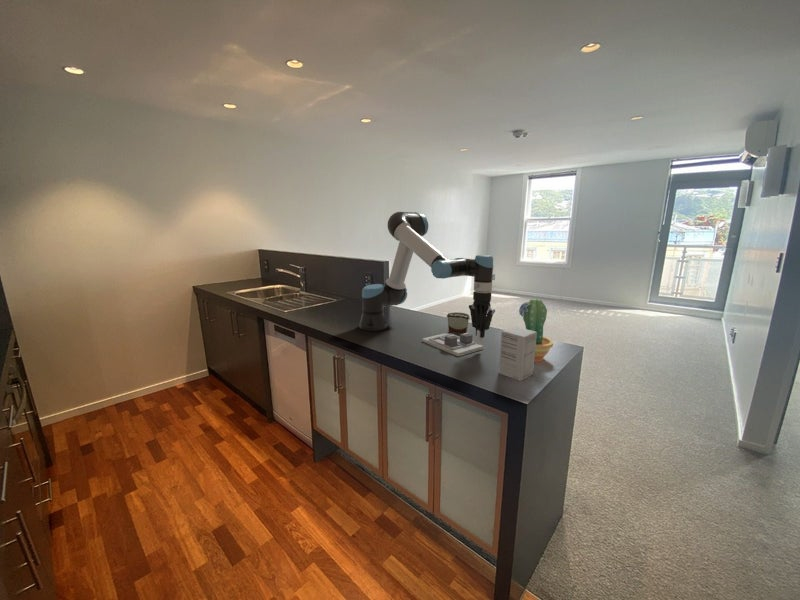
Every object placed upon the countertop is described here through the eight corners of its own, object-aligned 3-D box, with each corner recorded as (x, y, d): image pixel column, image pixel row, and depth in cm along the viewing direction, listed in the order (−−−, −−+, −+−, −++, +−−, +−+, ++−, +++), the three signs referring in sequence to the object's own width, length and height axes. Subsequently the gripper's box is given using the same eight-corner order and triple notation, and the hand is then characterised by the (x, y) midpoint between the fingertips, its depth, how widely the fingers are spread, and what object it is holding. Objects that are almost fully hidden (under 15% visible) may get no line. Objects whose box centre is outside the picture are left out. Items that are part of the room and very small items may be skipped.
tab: (444, 344, 152) (444, 335, 151) (450, 343, 154) (451, 333, 153) (450, 347, 149) (450, 337, 148) (456, 345, 151) (457, 335, 150)
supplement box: (511, 366, 132) (515, 325, 129) (533, 374, 125) (537, 331, 122) (497, 373, 126) (500, 330, 123) (520, 381, 119) (524, 336, 116)
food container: (471, 331, 178) (472, 313, 176) (468, 335, 172) (469, 316, 170) (449, 329, 183) (449, 311, 181) (445, 332, 177) (446, 313, 175)
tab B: (459, 342, 155) (460, 333, 154) (465, 341, 157) (466, 331, 157) (466, 345, 152) (466, 335, 151) (472, 343, 154) (472, 333, 153)
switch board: (422, 341, 162) (422, 336, 161) (446, 335, 171) (446, 331, 170) (458, 356, 143) (458, 351, 142) (483, 349, 152) (483, 344, 151)
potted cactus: (520, 348, 153) (525, 295, 148) (556, 356, 143) (562, 299, 138) (507, 358, 141) (512, 300, 136) (545, 367, 131) (552, 306, 126)
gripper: (465, 290, 146) (462, 341, 151) (488, 294, 136) (485, 349, 141) (476, 288, 151) (474, 338, 155) (500, 292, 140) (496, 346, 145)
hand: (479, 343), depth 148 cm, fingers closed
